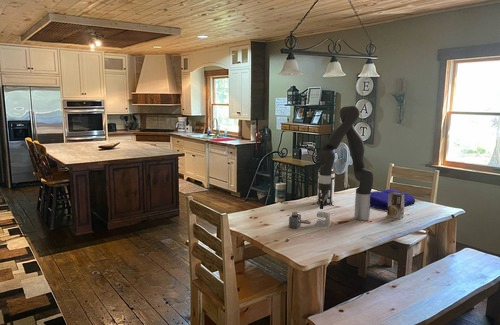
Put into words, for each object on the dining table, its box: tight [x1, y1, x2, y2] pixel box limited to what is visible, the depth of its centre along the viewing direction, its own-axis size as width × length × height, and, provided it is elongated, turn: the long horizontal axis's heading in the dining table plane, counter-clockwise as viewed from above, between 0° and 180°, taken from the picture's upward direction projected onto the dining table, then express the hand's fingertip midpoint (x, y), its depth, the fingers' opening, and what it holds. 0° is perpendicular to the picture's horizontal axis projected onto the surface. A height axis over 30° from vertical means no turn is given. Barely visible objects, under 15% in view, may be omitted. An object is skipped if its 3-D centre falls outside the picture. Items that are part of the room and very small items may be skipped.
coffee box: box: [386, 192, 405, 220], centre depth 252 cm, size 9×6×16 cm
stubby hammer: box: [288, 211, 312, 230], centre depth 228 cm, size 12×8×9 cm, turn 65°
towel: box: [370, 188, 416, 211], centre depth 285 cm, size 26×36×9 cm
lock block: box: [315, 211, 331, 227], centre depth 235 cm, size 7×5×8 cm
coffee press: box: [316, 167, 336, 206], centre depth 281 cm, size 17×16×30 cm
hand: (323, 207), depth 234 cm, fingers open, 8 cm apart
